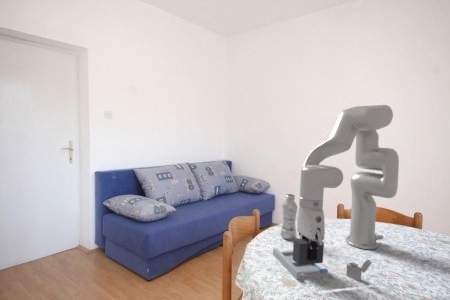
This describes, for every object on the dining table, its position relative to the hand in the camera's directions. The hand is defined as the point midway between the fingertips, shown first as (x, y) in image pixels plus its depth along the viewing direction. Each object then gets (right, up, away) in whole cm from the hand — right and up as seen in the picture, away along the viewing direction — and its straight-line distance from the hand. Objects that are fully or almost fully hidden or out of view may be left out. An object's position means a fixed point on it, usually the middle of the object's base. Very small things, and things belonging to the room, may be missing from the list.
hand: (307, 256), depth 90 cm
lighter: (+15, -6, -5) cm, 17 cm away
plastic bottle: (0, -4, +29) cm, 29 cm away
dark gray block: (0, -2, 0) cm, 2 cm away
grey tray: (-2, -5, +4) cm, 7 cm away
